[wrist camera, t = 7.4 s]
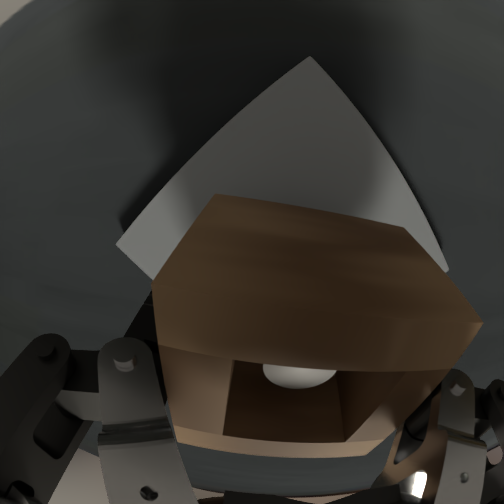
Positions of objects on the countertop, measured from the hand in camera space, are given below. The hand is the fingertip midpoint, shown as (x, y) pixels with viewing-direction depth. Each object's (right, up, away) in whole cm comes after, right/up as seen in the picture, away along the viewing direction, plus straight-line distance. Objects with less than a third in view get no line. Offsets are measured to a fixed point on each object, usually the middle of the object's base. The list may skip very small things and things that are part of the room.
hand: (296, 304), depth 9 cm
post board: (0, +2, +4) cm, 4 cm away
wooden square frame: (0, 0, +1) cm, 1 cm away
